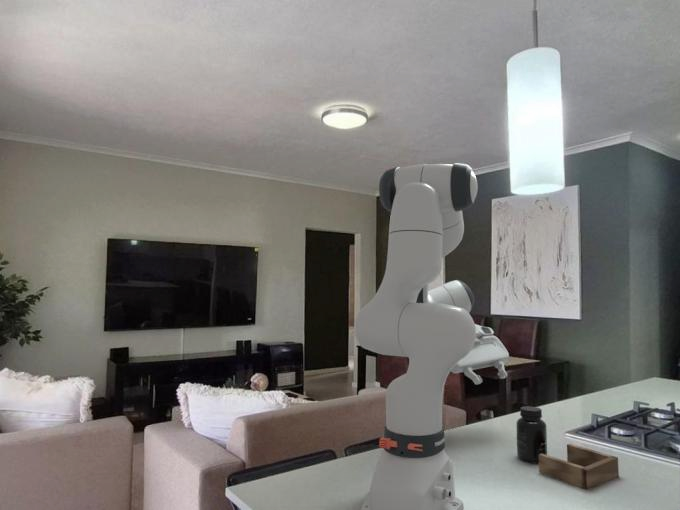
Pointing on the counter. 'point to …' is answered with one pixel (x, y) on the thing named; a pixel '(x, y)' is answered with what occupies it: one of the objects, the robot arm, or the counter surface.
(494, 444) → the counter surface
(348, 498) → the counter surface
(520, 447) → the supplement bottle
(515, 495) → the counter surface
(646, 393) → the counter surface
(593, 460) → the walnut holder
